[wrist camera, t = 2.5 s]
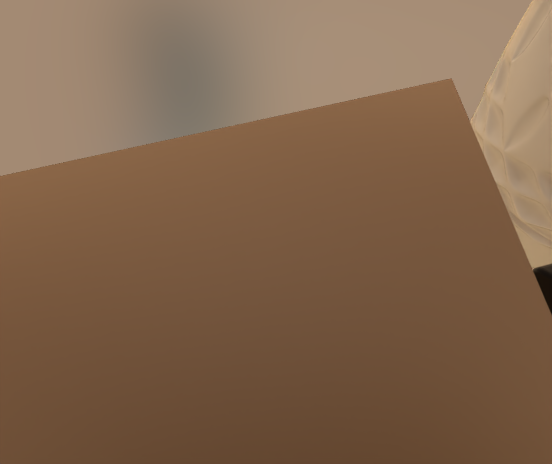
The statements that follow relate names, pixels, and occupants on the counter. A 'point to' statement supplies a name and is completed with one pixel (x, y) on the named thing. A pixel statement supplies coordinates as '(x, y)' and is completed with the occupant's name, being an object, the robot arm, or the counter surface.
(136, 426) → the peg
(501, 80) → the white cup
